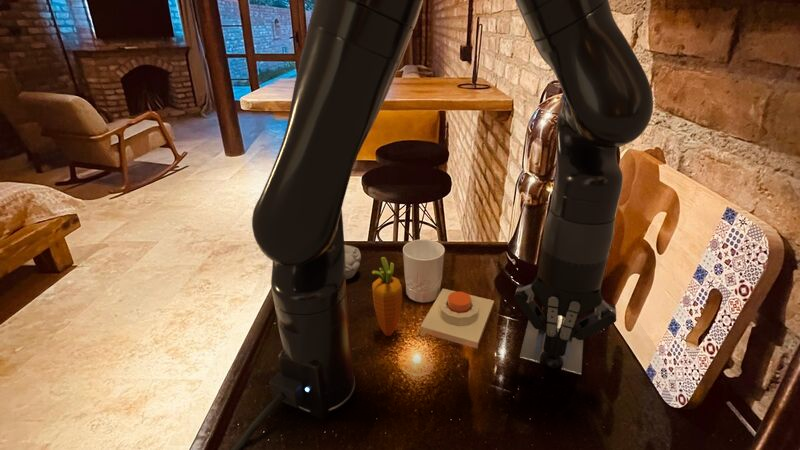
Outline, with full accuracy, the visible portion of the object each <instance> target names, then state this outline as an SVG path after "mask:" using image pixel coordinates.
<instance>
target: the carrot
mask: <svg viewBox="0 0 800 450" xmlns="http://www.w3.org/2000/svg"><path fill="white" fill-rule="evenodd" d="M380 261H381V265H382V267H379V271H378V270H372V271H371V274H372V275H374V276H377V277H378V278H377V279H375V280H374V281H373V282H372V284H371V289H372V299H373V307H374V313H375V316H376V319H377V322H378V323H377V324H378V326H379V328H380V330H381V331H382V332H383V334H384V335H385V336H386V337H391V336H392V335H393V334H394V332H395V331H396V329H397V327H398V325H399V322H400V318H401V313H402V305H403V287H402V285H401V281H400V279H398V278H397V277H394V276H393V275H394V270H395V263H393V262H390V264H389V261H388V260H387V257H385V256H382V257H381V258H380Z"/></svg>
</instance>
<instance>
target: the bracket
mask: <svg viewBox="0 0 800 450" xmlns="http://www.w3.org/2000/svg"><path fill="white" fill-rule="evenodd" d="M541 307H542V306H541ZM541 311H542V312H543V314H544V316H545V317H547V313H548V312H547V311H546V310H545V309H544V308H543V307H542V308H541ZM577 319H578V318H576V321H575V324H576V323H577ZM545 336H546V333H545V332H544V331H543V330H542V329H539V330H538V329H535V328H534V327H533V325H532V324H531V323H530V321H529V320H528V319H527V324H526V327H525V332H524V336H523V341H522V344H521V348H520V353H519V357H518V358H519V359H520V360H524V361H527V362H530V363H535V364H538V365H540V361H539V358H540V355H541V353H542V352H543V351H544V349H543V347H544V342H545ZM583 351H584V339H583V340H577V339H576V338H570V339H568V342H567V347H566V352H565V355H564V356H562V358H563V367H562V369H561V370H560V371H562V372H566V373H570V374H573V375H576V376H582V370H583V354H584V352H583Z"/></svg>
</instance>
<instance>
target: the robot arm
mask: <svg viewBox="0 0 800 450" xmlns="http://www.w3.org/2000/svg"><path fill="white" fill-rule="evenodd" d="M423 3H424V0H314V4H313V7H312V12H311V15H310V18H309V22H308V26H307V28H306V34H305V38H304V42H303V46H302V50H301V54H300V59H299V64H298V67H297V72H296V77H295V82H294V86H293V91H292V96H291V97H292V98H291V103H290V109H289V114H288V120H287V124H286V128H285V132H284V136H283V139H282V141H281V145H280V148H279V151H278V153H277V156H276V159H275V161H274V162H273V163H274V164H273V166H272V168H271V171H270V174H269V176H268V177H267V179H266V183H265V185H264V187H263V190H262V192H261V194H260V195H259V198H258V200H257V201H256V203H255V206H254V208H253V211H252V217H251V228H252V235H253V238H254V240H255V242H256V245H257V246H258V248H259V249H260V251H261V252H262V254H263V255H265V256H266V257H267V259H269V260H271V261H272V268H271V276H270V277H271V278H270V287H271V293H272V299H273V304H274V309H275V314H276V319H277V321H276V322H277V326H278V331H279V336H280V342H281V348H282V350H281V351H280V352H279V354H278V355H277V356H278V363H279V368H280V371H277V372H276V373H275V375H274V376H273V377H272V378H271V379H270V380H269V381H268V383H269V384H268V385H269V389H270V394H271V398H272V400H271V402H269V404H268V405H267V406H266V407H265V408H264V409H263V410H262V411H261V412H260V413H259V414H258V416H256V418H254V420H253V421H252V423H251V424H250V425H249V427H247V428H246V431H245V432H244V433H243V435H242V436H241V437H240V438H239V439H238V440H237V442H236V443H235V444H234V445H233V446H232V448H230V450H242V448H243V447H244V446H245V445H246V444H247V443H248V442H249V440H250V439H251V438H252V436H253V435H254V434H255V432H256V431H257V430H258V429H259V427H260V426H261V425H262V424H263V422H264V421H265V420H266V419H267V418H268V417H269V416H270V415H271V413H272V412H274V410H275V409H276V408H277V407H278V406H279V405H280V404H281V403H284V404H286V405H287V406H289V407H291V408H294V409H296V410H298V411H300V412H302V413H304V414H308V415H311V416H313V417H316V418H318V419H320V420H325V419H326V418H327V416H328V415H330V414H331V413H334V412H336V411H338V410H340V409H341V408H343V407H344V406H345V405H346V404H348V403H349V402H350V400H351V399H352V398H353V396H354V394H355V391H356V376H355V373H354V372H355V371H354V361H353V350H352V348H353V347H352V337H351V327H350V326H351V325H350V315H349V313H350V312H349V303H348V301H349V300H348V290H347V279H346V264H345V246H344V245H345V234H344V221H343V219H344V218H343V210H342V209H343V205H344V202H345V201H344V200H345V197H346V193H347V190H348V187H349V183H350V180H351V176H352V172H353V169H354V167H355V164H356V162H357V159H358V156H359V154H360V152H361V149H362V147H363V145H364V143H365V142H366V139H367V137H368V135H369V134H370V131H371V130H372V127H373V126H374V124H375V121H376V119H377V117H378V115H379V114H380V111H381V109H382V107H383V105H384V102H385V100H386V98H387V95H388V94H389V91H390V89H391V87H392V84H393V82H394V80H395V78H396V75H397V73H398V71H399V69H400V66H401V63H402V61H403V58H404V56H405V53H406V50H407V49H408V46H409V43H410V40H411V38H412V35H413V32H414V31H413V30H415V27H416V25H417V22H418V19H419V16H420V13H421V10H422V7H423ZM515 3H516V7H517V8H518V10H519V12H520V15H521V17H522V20H523V22H524V24H525V27H526V29H527V30H528V33H529V35H530V37H531V39H532V42H533V44H534V46H535V49H536V50H537V52H538V54H539V55H540V57H541V58H542V60H543V61H544V62H545V64H547V65H548V66H549V67H550V68H551V70H552V72H553V74H554V75H555V77H556V79H557V82H558V84H559V87H560V89H561V91H562V95H561V97H560V100H559V105H558V109H557V117H556V173H555V177H554V181H553V187H552V192H551V198H550V199H551V200H550V205H549V210H548V214H547V216H546V220H545V222H544V223H545V224H544V228H543V233H542V241H541V248H540V254H539V259H538V260H539V261H538V266H537V274H536V275H535V276H534V277H533V278H532V282H531V283H530V284H527V285H523V284H518V285H517V286H516V289H515V292H514V295H513V299H514V301H515V302H516V304H517V305H518V307H519V308H520V310H521V311H522V313H523V314H524V315H525V317H526V318H527V321H528V320H529V321H530V323H531V324H532V325H533V327H534V328H535V329H538V330H539V329H542V330H543V331H544V332H545V333H546V336H545V342H544V347H543V349H544V351H545V352H548V355H547V356H549V357H553V358H556V359H558V358H559V355H560V356H564V355H565V352H566V347H567V342H568V339H570V338H576V339H577V340H583V341H584V340H586V339H587V338H589V337H591V336H593V335H595V334H596V333H598V332H600V331H602V330H604V329H605V328H607V327H609V326H611V325H612V324H614V323H616V322H617V308H616V306H615V305H614V304H612V303H607V301H605V300H604V298H603V296H604V294H603V290H602V289H601V288H602V284H603V280H604V275H605V271H606V267H607V264H608V259H609V255H610V251H611V248H612V247H611V246H612V243H613V239H614V234H615V233H614V232H615V222H616V215H617V212H618V207H619V203H620V200H621V194H622V192H623V191H622V190H623V185H624V174H623V171H622V168H621V167H620V165H619V163H618V160H617V151H618V148H620V147H624V146H626V145H629V144H631V143H632V142H634V141H635V140H637V139H638V138H639V137H640V136H642V134H643V133H644V131H646V129H647V127H648V125H649V124H650V121H651V119H652V116H653V111H654V96H653V92H652V87H651V84H650V81H649V79H648V76H647V74H646V72H645V70H644V68H643V66H642V64H641V62H640V60H639V59H638V57H637V56H636V53H635V52H634V50H633V48H632V47H631V45H630V43H629V42H628V39H627V38H626V37H625V35H624V33H623V32H622V30H621V28H620V27H619V26H618V24H617V23H616V20H615V18H614V15H613V12H612V8H611V5H610V2H609V0H515ZM535 297H536V299H537V300H538V302H539V304H540V306H541V307H543V308H544V309H545V310H546V311H547V312H548V313H547V317H545V316H544V314H543V312H542V308H541V307H540V306H539V305H538V303H537V302H536V300H535ZM593 310H594V311H593ZM592 311H593V312H592ZM590 312H591V313H590ZM588 313H590V314H588ZM587 314H588V315H587ZM586 315H587V316H586ZM558 316H563V319H562V323H561V326H560V328H557V322H558ZM583 316H585V317H584V318H582V319H580V320H578V321H577V320H576V318H577V319H579V318H581V317H583ZM575 321H576V324H575ZM557 331H558V333H557ZM553 353H554V354H553Z"/></svg>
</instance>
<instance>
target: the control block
mask: <svg viewBox="0 0 800 450" xmlns="http://www.w3.org/2000/svg"><path fill="white" fill-rule="evenodd" d="M453 292H457V291H456V290H451V289H448V288H442V289H441V290H440V294H439V296H438V297H437V299H436V300H434V301H433V302H434V303H433V304H432V306H431V307H430V309H429V311H428V312H427V314H426V316H425V317H424V319H423V321H422V322H421V325H420V326H419V337H421V338H424V337H425V335H428V336H432V337H435V338H438V339H442V340H445V341H449V342H453V343H456V344H459V345H463V346H466V347H467V346H468V347H470V348H473V349H479V346H480V343H481V341H482V338H483V336H484V333H485V330H486V328H487V326H488V323H489V320H490V318H491V315H492V312H493V310H494V306H495V300H492V299H489V298H485V297H480V296H477V295H473V294H469V293H467V294H468V295H469V296H470V297H471V308H470V310H469V311H468V312H466V313H456V312H453V311H451V310H450V309H449V308H448V296H449V295H450V294H451V293H453Z"/></svg>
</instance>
